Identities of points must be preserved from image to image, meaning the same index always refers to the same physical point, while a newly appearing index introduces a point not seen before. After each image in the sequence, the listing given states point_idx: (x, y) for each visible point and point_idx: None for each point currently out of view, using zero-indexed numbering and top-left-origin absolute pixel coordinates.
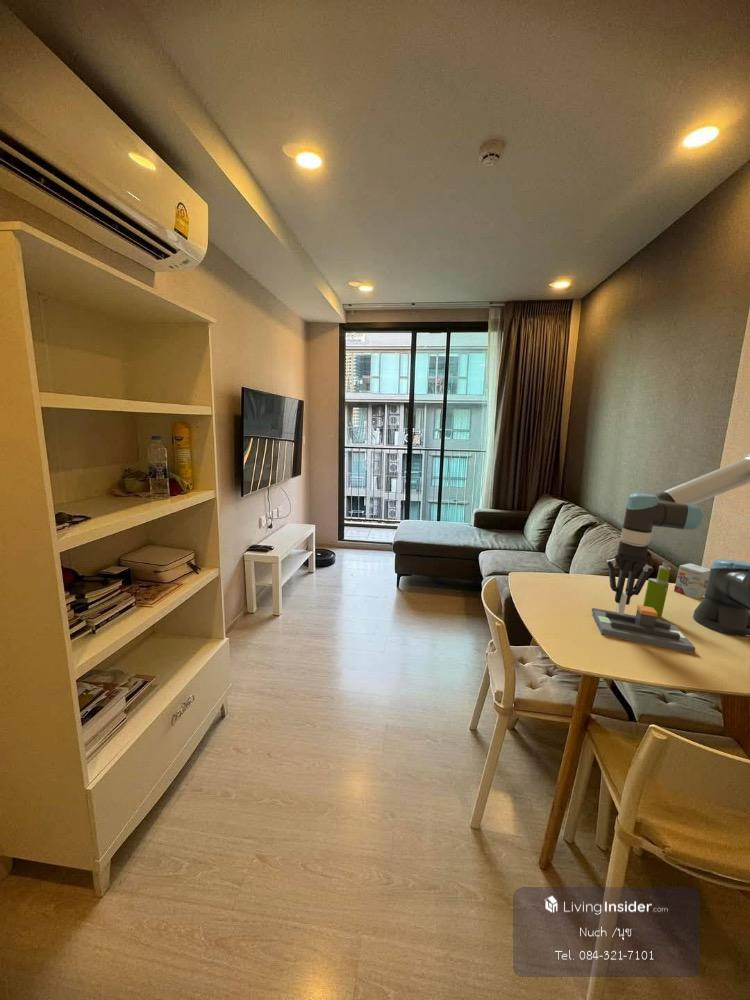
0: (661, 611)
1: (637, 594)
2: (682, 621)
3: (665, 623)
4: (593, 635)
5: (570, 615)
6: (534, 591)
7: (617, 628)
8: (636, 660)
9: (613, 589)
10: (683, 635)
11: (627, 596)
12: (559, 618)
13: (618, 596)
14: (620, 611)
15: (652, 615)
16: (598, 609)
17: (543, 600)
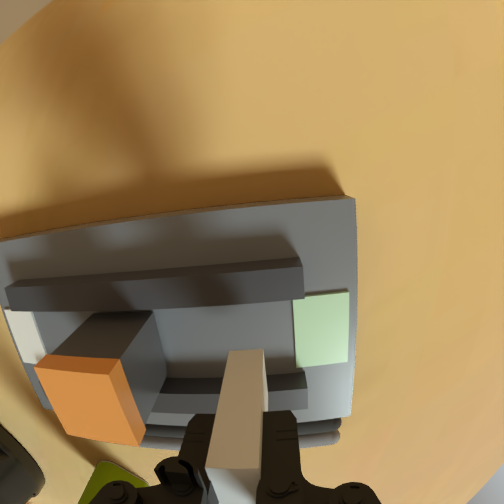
0: (90, 478)
1: (112, 485)
2: (53, 454)
3: None
4: (384, 163)
5: (444, 336)
6: (489, 443)
7: (265, 255)
8: (211, 11)
9: (361, 495)
10: (12, 331)
11: (202, 469)
12: (493, 273)
13: (284, 455)
14: (250, 360)
15: (63, 356)
16: (314, 441)
17: (492, 401)
